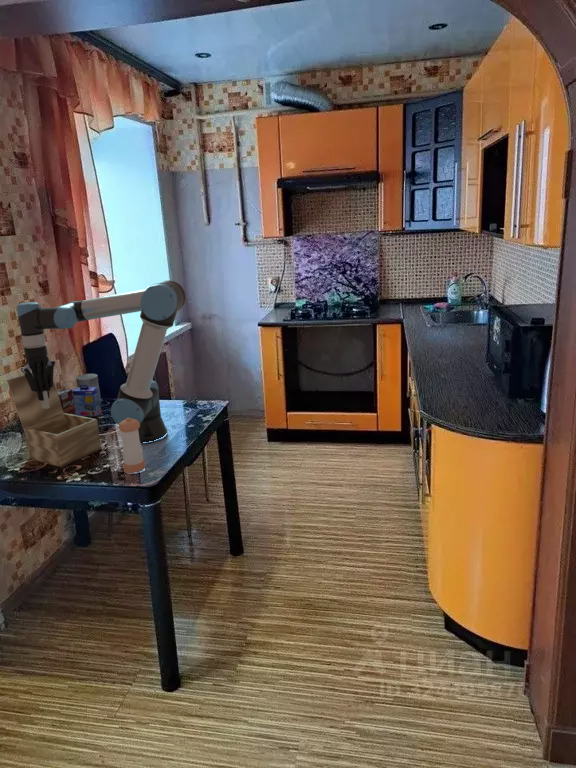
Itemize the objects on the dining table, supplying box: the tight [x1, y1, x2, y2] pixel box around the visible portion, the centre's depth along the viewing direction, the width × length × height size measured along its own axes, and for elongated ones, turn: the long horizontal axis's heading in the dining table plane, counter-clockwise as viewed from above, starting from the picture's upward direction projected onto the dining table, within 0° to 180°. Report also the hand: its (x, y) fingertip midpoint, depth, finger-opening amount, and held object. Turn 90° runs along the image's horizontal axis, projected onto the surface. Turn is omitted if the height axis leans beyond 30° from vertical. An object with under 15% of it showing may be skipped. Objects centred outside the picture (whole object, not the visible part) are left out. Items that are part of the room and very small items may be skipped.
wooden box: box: [22, 413, 102, 468], centre depth 206 cm, size 18×18×12 cm
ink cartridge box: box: [72, 385, 102, 417], centre depth 249 cm, size 10×6×14 cm, turn 88°
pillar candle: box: [75, 373, 102, 404], centre depth 264 cm, size 10×10×15 cm
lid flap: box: [6, 374, 64, 428], centre depth 207 cm, size 18×18×1 cm
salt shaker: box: [118, 418, 146, 473], centre depth 188 cm, size 7×7×19 cm
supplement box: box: [56, 388, 76, 416], centre depth 233 cm, size 9×5×16 cm, turn 168°
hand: (45, 407), depth 206 cm, fingers closed
